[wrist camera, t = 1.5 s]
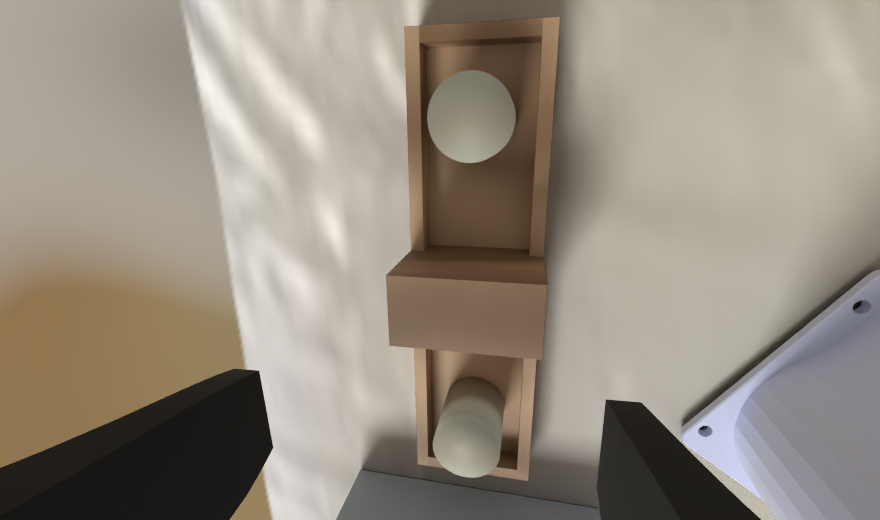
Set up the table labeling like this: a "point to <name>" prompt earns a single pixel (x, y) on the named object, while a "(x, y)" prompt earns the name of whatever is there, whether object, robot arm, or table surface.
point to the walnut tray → (476, 238)
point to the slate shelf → (446, 502)
